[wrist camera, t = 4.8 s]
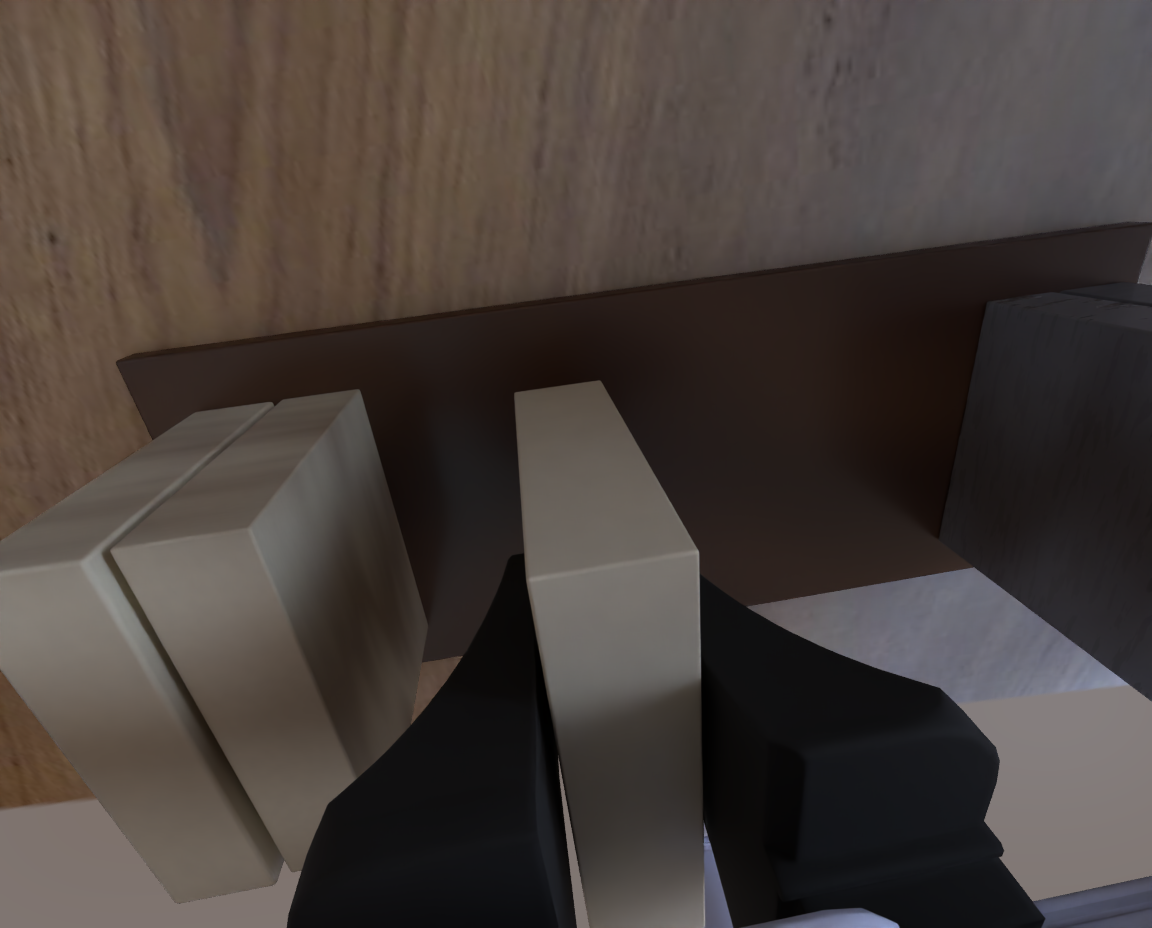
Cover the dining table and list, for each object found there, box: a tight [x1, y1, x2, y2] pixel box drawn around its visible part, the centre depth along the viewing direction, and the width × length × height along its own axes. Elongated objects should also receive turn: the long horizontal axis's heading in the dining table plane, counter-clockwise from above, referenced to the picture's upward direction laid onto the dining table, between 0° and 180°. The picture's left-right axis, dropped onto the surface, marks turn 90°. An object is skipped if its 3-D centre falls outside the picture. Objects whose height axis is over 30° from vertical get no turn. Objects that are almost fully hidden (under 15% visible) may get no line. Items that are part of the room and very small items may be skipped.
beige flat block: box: [514, 380, 705, 928], centre depth 11 cm, size 8×2×7 cm, turn 6°
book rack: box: [0, 222, 1152, 904], centre depth 14 cm, size 11×28×8 cm, turn 96°
